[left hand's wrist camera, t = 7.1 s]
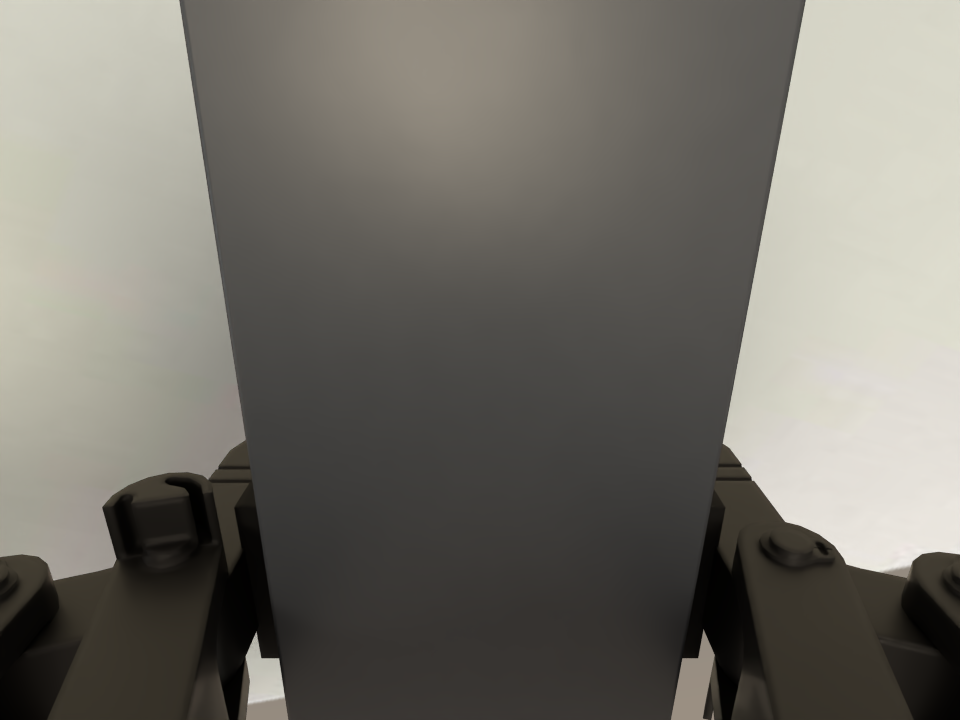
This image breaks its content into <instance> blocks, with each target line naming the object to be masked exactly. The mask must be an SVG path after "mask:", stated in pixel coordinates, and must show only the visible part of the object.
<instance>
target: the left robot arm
mask: <svg viewBox="0 0 960 720" xmlns="http://www.w3.org/2000/svg"><path fill="white" fill-rule="evenodd" d="M102 508H103V512H104V515H105V519H106V522H107V526H108V530H109V533H110V537H111V540H112V544H113V547H114V551H115V555H116V558H117V560H116V562H115V564H114V567H113V568H109V569H105V570H102V571H98V572H93V573H88V574H83V575H78V576H74V577H69V578H64V579H59V580H55V581H53V579H52V576H51V573H50V570H49V567H48V564H47V563H46V562H44V561H43V560H42V559H40V558H39V557H36V556H28V555H15V556H7V557H0V720H246V712H247V703H248V693H249V684H250V680H249V673H248V667H247V662H246V657H245V656H246V654H247V652H248V649H249V647H250V645H251V643H252V640H253V638H254V636H255V633H256V631H257V636H258V642H259V647H260V653H261V658H279V654H278V647H277V640H276V634H275V627H274V621H273V614H272V607H271V601H270V594H269V588H268V581H267V574H266V568H265V561H264V555H263V548H262V541H261V535H260V528H259V522H258V515H257V508H256V502H255V495H254V489H253V482H252V475H251V469H250V462H249V456H248V449H247V442H246V440H245V441H244V442H242V443H241V444H239V445H238V446H236V447H235V448H233V449H232V450H230V452H229V453H228V454H227V456H226V457H225V458H224V460H223V461H222V462H221V464H220V465H219V468H218V470H215V472H214V473H213V474H212V476H211V477H210V478H209V480H208V479H206V478H205V477H204V476H202V475H197V474H193V473H188V472H184V473H167V474H162V475H157V476H153V477H148V478H146V479H143V480H141V481H138V482H136V483H133V484H131V485H128V486H127V487H125V488H124V489H122V490H121V491H119V492H117V493H116V494H114V495H113V496H112V497H111V498H110V499H109V500H108V501H107V503H106V504H105V505H104V506H103V507H102ZM703 629H704V631H705V633H706V636H707V638H708V640H709V643H710V645H711V647H712V649H713V652H714V654H715V657H714V662H713V667H712V672H711V677H710V683H709V688H708V693H707V698H706V703H705V709H704V715H703V719H708V720H711V718H712V713H713V711H714V720H960V555H959V554H951V553H943V552H934V553H927V554H922V555H920V556H919V557H918V558H916V559H915V560H914V561H913V562H912V565H911V568H910V571H909V574H908V577H907V578H903V577H899V576H894V575H889V574H884V573H880V572H875V571H870V570H865V569H860V568H857V567H853V566H849V565H846V563H845V561H844V559H843V557H842V556H841V555H840V553H839V552H838V550H837V549H836V548H835V546H834V545H832V544H831V543H830V542H828V541H827V540H826V539H824V538H823V537H822V536H820V535H819V534H817V533H815V532H812V531H810V530H808V529H806V528H804V527H801V526H799V525H795V524H791V523H787V522H785V521H784V520H783V519H782V517H781V516H780V515H779V513H778V512H777V511H776V509H775V508H774V507H773V505H772V504H771V503H770V501H769V500H768V499H767V497H766V496H765V495H764V493H763V492H762V491H761V489H760V488H759V487H758V485H757V484H756V483H755V481H752V479H751V476H750V475H749V474H748V472H747V471H746V470H745V468H744V467H742V466H741V463H740V462H739V460H738V459H737V458H736V456H735V455H734V454H733V452H732V451H731V450H730V448H728V447H727V446H725V445H724V444H722V449H721V454H720V459H719V465H718V470H717V475H716V481H715V486H714V491H713V497H712V502H711V507H710V513H709V518H708V523H707V529H706V534H705V539H704V545H703V550H702V555H701V561H700V566H699V571H698V577H697V582H696V587H695V593H694V598H693V603H692V609H691V614H690V619H689V625H688V630H687V635H686V641H685V646H684V651H683V657H682V658H698V656H699V650H700V645H701V639H702V634H703Z"/></svg>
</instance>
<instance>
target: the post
mask: <svg viewBox="0 0 960 720" xmlns="http://www.w3.org/2000/svg"><path fill="white" fill-rule="evenodd" d="M179 1H180V7H181V14H182V20H183V27H184V34H185V40H186V47H187V53H188V60H189V67H190V73H191V80H192V86H193V93H194V100H195V106H196V113H197V119H198V126H199V133H200V139H201V146H202V152H203V159H204V166H205V172H206V179H207V185H208V192H209V199H210V205H211V212H212V218H213V225H214V231H215V238H216V245H217V251H218V258H219V264H220V271H221V278H222V284H223V291H224V297H225V304H226V311H227V317H228V324H229V330H230V337H231V344H232V350H233V357H234V363H235V370H236V377H237V383H238V390H239V396H240V403H241V410H242V416H243V423H244V429H245V436H246V442H247V449H248V456H249V462H250V469H251V475H252V482H253V489H254V495H255V502H256V508H257V515H258V522H259V528H260V535H261V541H262V548H263V555H264V561H265V568H266V574H267V581H268V588H269V594H270V601H271V607H272V614H273V621H274V627H275V634H276V640H277V647H278V654H279V660H280V667H281V673H282V680H283V686H284V693H285V700H286V706H287V713H288V719H289V720H671V715H672V710H673V705H674V699H675V694H676V689H677V683H678V678H679V673H680V667H681V662H682V657H683V651H684V646H685V641H686V635H687V630H688V625H689V619H690V614H691V609H692V603H693V598H694V593H695V587H696V582H697V577H698V571H699V566H700V561H701V555H702V550H703V545H704V539H705V534H706V529H707V523H708V518H709V513H710V507H711V502H712V497H713V491H714V486H715V481H716V475H717V470H718V465H719V459H720V454H721V449H722V443H723V438H724V433H725V427H726V422H727V417H728V411H729V406H730V401H731V395H732V390H733V385H734V379H735V374H736V369H737V363H738V358H739V353H740V347H741V342H742V337H743V331H744V326H745V321H746V315H747V310H748V305H749V299H750V294H751V289H752V283H753V278H754V273H755V267H756V262H757V257H758V251H759V246H760V241H761V235H762V230H763V225H764V219H765V214H766V209H767V203H768V198H769V193H770V187H771V182H772V177H773V171H774V166H775V161H776V155H777V150H778V145H779V139H780V134H781V129H782V123H783V118H784V113H785V107H786V102H787V97H788V91H789V86H790V81H791V75H792V70H793V65H794V59H795V54H796V49H797V43H798V38H799V33H800V27H801V22H802V17H803V11H804V6H805V1H806V0H179Z"/></svg>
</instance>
